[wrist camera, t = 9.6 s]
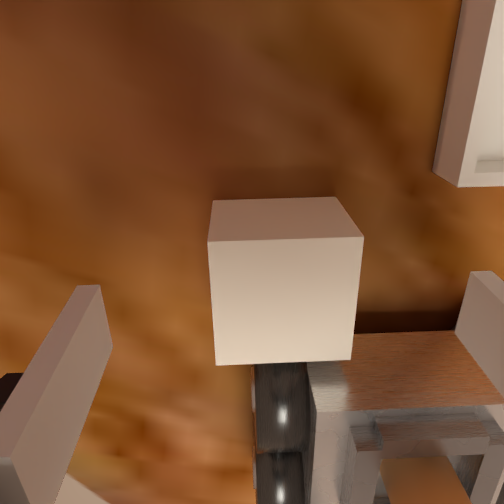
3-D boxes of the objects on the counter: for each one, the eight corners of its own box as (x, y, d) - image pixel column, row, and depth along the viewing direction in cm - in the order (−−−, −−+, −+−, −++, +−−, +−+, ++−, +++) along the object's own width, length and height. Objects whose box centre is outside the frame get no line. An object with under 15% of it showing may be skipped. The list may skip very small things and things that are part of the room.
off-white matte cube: (213, 199, 20) (207, 241, 16) (335, 195, 20) (364, 236, 16) (219, 303, 23) (216, 365, 18) (327, 299, 23) (350, 359, 19)
